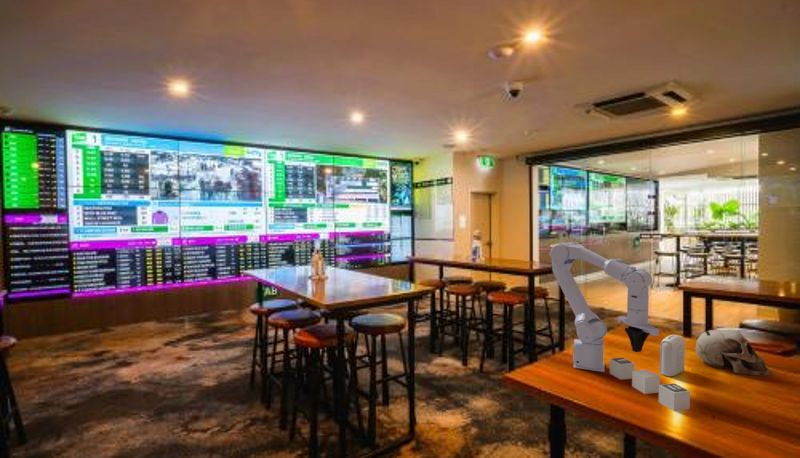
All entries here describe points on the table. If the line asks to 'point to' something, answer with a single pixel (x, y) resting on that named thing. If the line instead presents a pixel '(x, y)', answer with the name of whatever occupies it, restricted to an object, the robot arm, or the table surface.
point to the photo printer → (672, 355)
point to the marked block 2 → (674, 397)
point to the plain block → (645, 381)
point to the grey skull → (730, 352)
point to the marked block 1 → (621, 368)
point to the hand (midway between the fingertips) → (636, 351)
